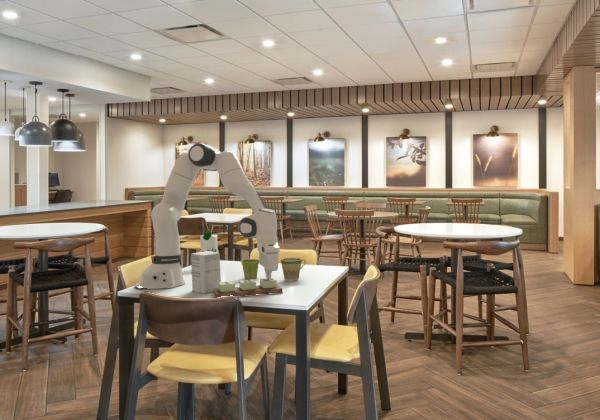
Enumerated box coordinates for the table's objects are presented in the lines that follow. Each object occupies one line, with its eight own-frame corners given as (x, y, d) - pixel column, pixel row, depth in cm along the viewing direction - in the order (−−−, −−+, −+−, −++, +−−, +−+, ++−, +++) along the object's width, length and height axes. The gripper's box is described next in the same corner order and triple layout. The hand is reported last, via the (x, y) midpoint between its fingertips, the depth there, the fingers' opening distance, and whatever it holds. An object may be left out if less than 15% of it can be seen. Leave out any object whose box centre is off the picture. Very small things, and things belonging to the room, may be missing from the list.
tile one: (220, 292, 208) (220, 284, 207) (218, 289, 213) (218, 281, 213) (235, 290, 209) (234, 283, 209) (232, 287, 215) (232, 280, 215)
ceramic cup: (287, 282, 234) (287, 261, 234) (277, 279, 243) (277, 259, 242) (311, 279, 241) (310, 259, 240) (300, 276, 249) (300, 256, 249)
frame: (216, 298, 205) (216, 293, 205) (213, 293, 215) (213, 289, 215) (282, 292, 214) (282, 288, 213) (276, 288, 223) (276, 283, 223)
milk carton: (199, 268, 277) (198, 232, 276) (205, 265, 286) (204, 230, 285) (214, 268, 276) (213, 232, 275) (219, 265, 285) (218, 230, 284)
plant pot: (257, 280, 242) (256, 262, 241) (238, 279, 244) (238, 262, 243) (262, 276, 251) (262, 259, 251) (244, 276, 253) (244, 259, 253)
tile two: (242, 290, 210) (241, 282, 210) (239, 287, 216) (239, 280, 216) (256, 289, 212) (255, 281, 212) (253, 286, 218) (252, 279, 218)
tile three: (262, 288, 213) (262, 281, 213) (259, 285, 219) (259, 278, 218) (276, 287, 215) (276, 280, 215) (273, 284, 220) (273, 277, 220)
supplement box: (209, 287, 228) (208, 250, 227) (221, 290, 222) (220, 252, 221) (191, 290, 221) (190, 253, 220) (203, 293, 215) (202, 255, 214)
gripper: (255, 244, 225) (256, 274, 226) (265, 249, 205) (266, 283, 206) (268, 243, 227) (269, 273, 227) (280, 248, 207) (281, 281, 208)
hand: (268, 278), depth 217 cm, fingers closed
